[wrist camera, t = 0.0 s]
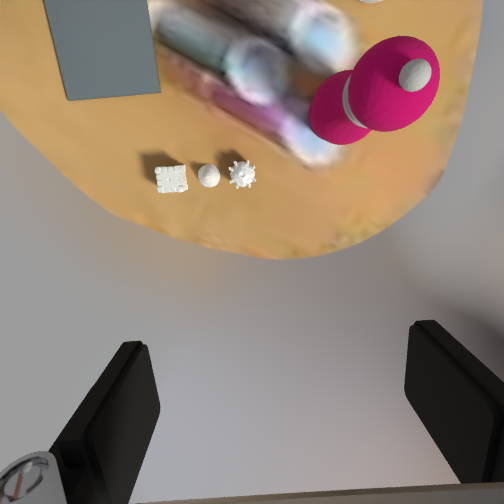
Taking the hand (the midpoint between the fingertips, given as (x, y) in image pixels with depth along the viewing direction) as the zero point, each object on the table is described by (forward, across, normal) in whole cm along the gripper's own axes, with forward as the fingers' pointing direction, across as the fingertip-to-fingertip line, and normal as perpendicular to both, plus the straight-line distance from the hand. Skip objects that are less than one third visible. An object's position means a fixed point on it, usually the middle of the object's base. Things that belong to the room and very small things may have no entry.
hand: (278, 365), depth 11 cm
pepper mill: (+31, -10, -11) cm, 35 cm away
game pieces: (+32, +6, -5) cm, 33 cm away
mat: (+31, +16, -20) cm, 41 cm away
